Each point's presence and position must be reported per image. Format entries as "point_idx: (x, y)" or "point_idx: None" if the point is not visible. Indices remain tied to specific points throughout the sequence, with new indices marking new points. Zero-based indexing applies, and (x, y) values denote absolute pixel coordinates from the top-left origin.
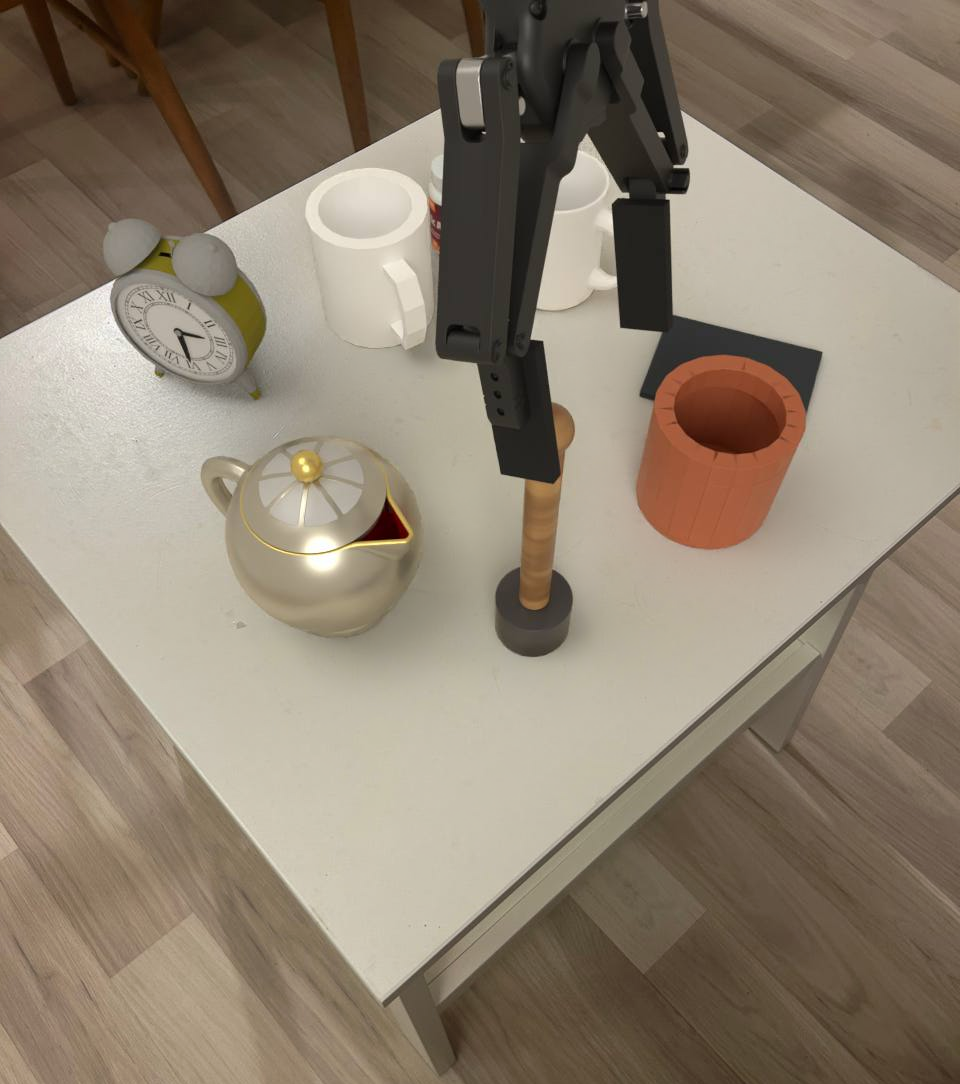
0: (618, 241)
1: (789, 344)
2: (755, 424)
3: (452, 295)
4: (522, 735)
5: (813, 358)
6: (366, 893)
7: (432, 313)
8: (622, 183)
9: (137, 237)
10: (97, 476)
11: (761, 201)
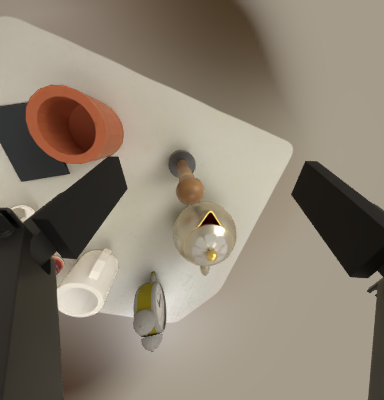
0: (94, 228)
1: None
2: (54, 118)
3: None
4: (217, 146)
5: None
6: (275, 162)
7: (89, 252)
8: (52, 269)
9: (151, 343)
10: (198, 285)
11: None
